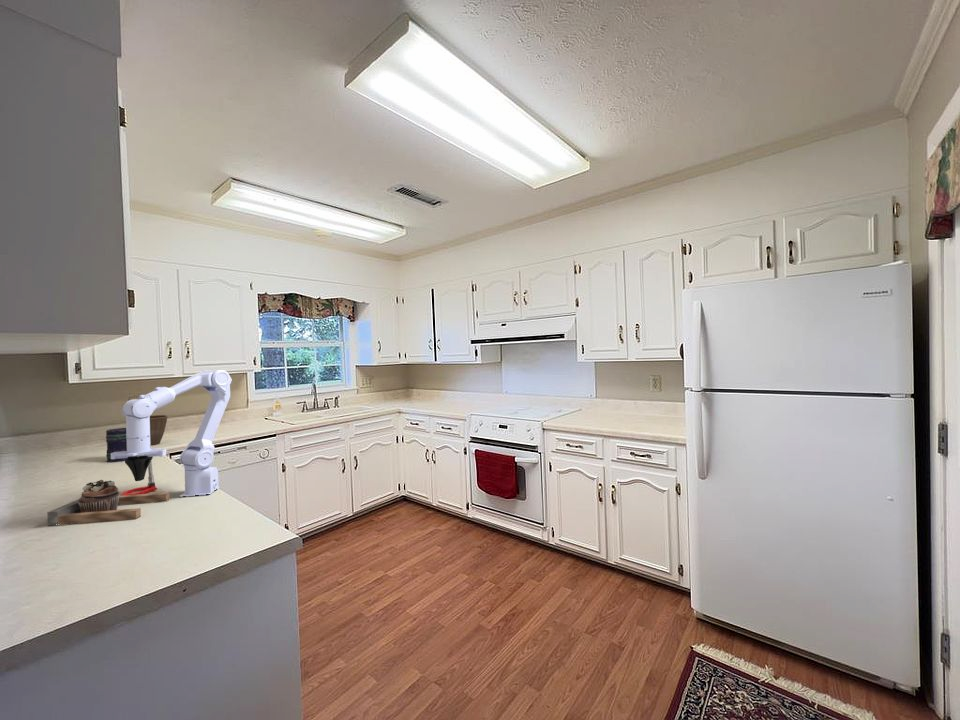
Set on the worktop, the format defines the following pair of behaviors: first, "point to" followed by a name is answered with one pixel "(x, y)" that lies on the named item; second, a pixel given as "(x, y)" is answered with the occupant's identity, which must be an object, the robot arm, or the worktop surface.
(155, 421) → the plant pot
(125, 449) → the storage jar
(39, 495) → the worktop surface
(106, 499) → the cupcake
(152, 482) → the tow hook
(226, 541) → the worktop surface
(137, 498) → the guide track
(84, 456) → the worktop surface
